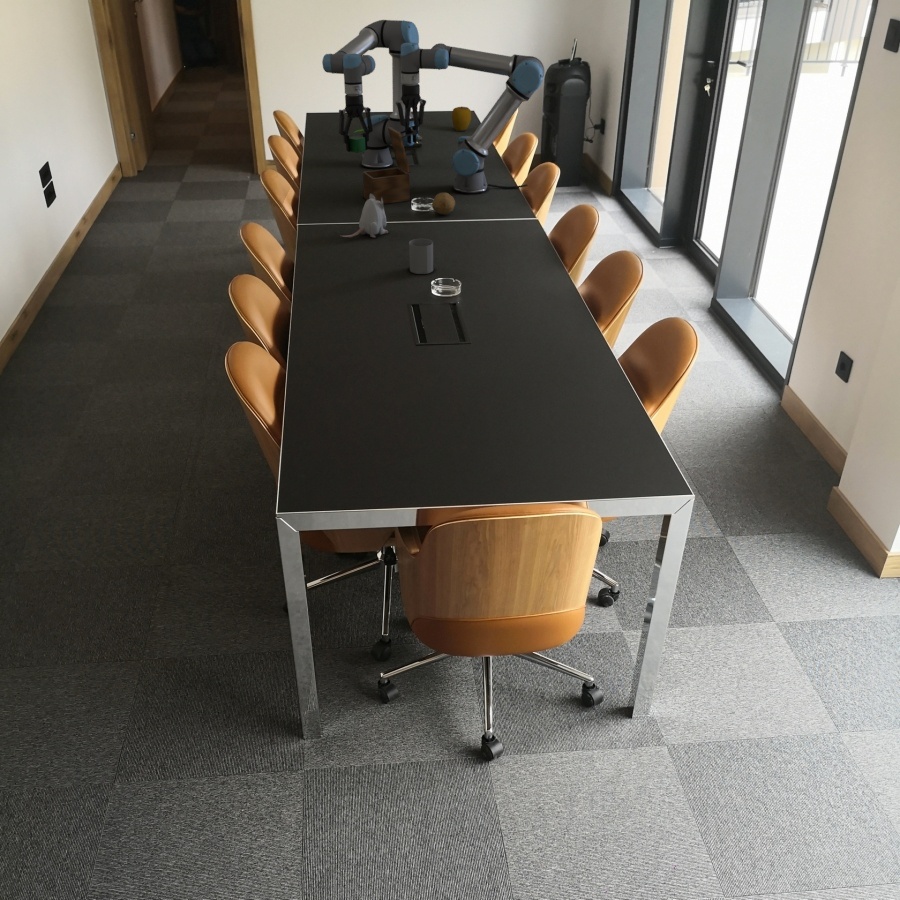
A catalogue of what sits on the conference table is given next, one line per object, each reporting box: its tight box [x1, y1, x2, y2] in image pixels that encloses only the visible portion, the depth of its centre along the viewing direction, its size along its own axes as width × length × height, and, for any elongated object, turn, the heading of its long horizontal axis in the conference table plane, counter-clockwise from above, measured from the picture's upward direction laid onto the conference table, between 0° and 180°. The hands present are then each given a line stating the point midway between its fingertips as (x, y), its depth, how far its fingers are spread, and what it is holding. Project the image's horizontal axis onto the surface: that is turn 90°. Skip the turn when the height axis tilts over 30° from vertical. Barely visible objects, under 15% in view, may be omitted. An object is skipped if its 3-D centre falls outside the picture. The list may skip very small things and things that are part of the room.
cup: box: [408, 237, 434, 275], centre depth 305 cm, size 8×8×10 cm
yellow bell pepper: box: [451, 105, 472, 132], centre depth 487 cm, size 11×11×13 cm
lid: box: [388, 127, 417, 174], centre depth 373 cm, size 17×12×9 cm
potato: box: [431, 192, 456, 216], centre depth 360 cm, size 10×14×8 cm
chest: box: [362, 167, 411, 205], centre depth 377 cm, size 17×12×11 cm
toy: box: [341, 194, 389, 239], centre depth 333 cm, size 9×24×15 cm, turn 137°
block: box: [349, 135, 366, 154], centre depth 376 cm, size 6×6×6 cm
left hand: (357, 150), depth 378 cm, fingers closed on block, 7 cm apart
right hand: (412, 142), depth 372 cm, fingers closed on lid, 2 cm apart
